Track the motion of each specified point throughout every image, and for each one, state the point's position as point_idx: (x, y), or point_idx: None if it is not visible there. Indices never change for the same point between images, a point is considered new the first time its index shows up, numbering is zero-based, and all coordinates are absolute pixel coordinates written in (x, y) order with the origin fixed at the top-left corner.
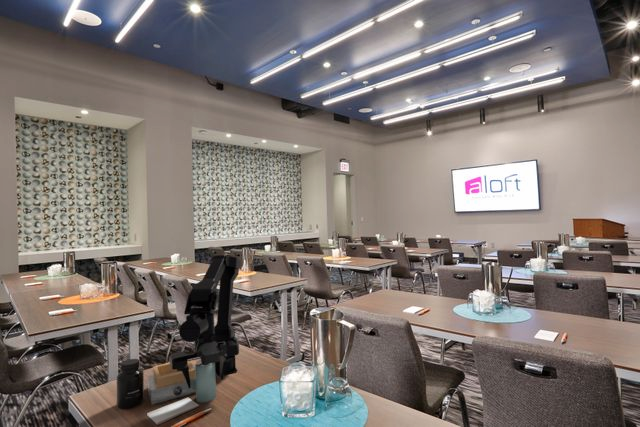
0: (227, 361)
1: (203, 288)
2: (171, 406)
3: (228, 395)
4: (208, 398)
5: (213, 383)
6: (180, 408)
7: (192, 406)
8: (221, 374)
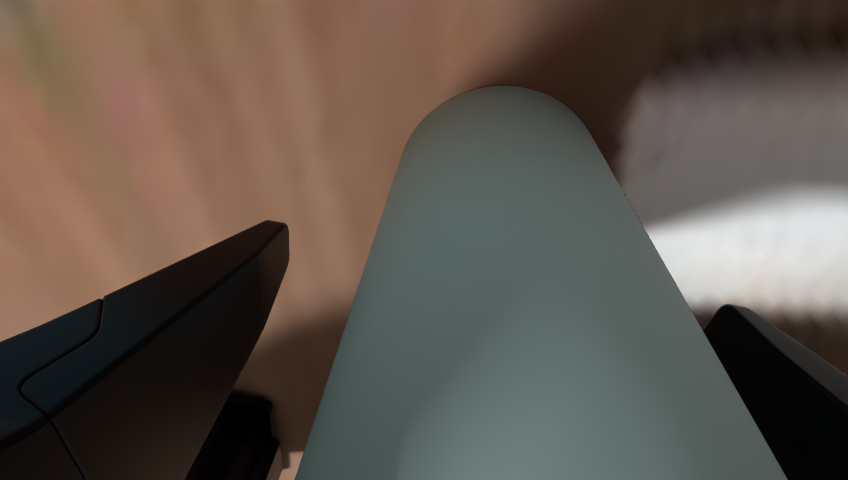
0: None
1: None
2: (807, 263)
3: (289, 51)
4: (526, 99)
5: (440, 180)
6: (800, 171)
7: (702, 117)
8: (251, 270)
